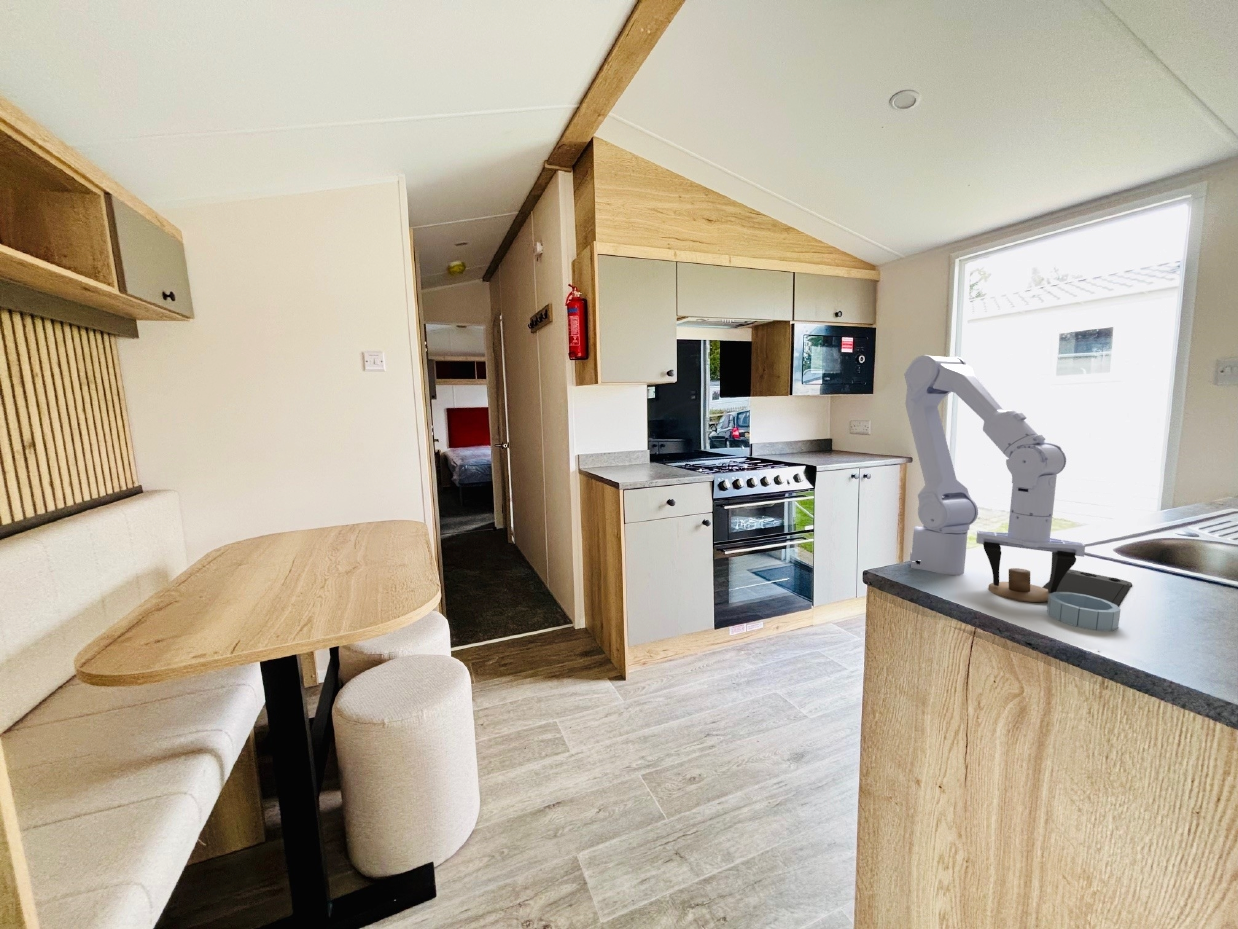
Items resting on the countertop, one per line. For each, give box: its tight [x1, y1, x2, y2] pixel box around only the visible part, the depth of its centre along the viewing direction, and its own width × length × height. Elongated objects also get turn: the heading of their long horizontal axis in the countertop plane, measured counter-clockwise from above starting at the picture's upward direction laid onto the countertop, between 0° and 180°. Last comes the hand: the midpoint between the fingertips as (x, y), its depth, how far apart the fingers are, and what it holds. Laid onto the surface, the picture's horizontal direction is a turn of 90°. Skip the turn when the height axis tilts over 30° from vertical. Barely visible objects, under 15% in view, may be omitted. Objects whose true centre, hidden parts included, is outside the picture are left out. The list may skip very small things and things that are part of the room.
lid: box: [988, 567, 1050, 603], centre depth 88 cm, size 9×9×4 cm
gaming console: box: [1042, 568, 1133, 608], centre depth 90 cm, size 24×1×10 cm
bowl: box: [1046, 592, 1121, 632], centre depth 78 cm, size 8×8×4 cm
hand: (1023, 588), depth 88 cm, fingers open, 7 cm apart
